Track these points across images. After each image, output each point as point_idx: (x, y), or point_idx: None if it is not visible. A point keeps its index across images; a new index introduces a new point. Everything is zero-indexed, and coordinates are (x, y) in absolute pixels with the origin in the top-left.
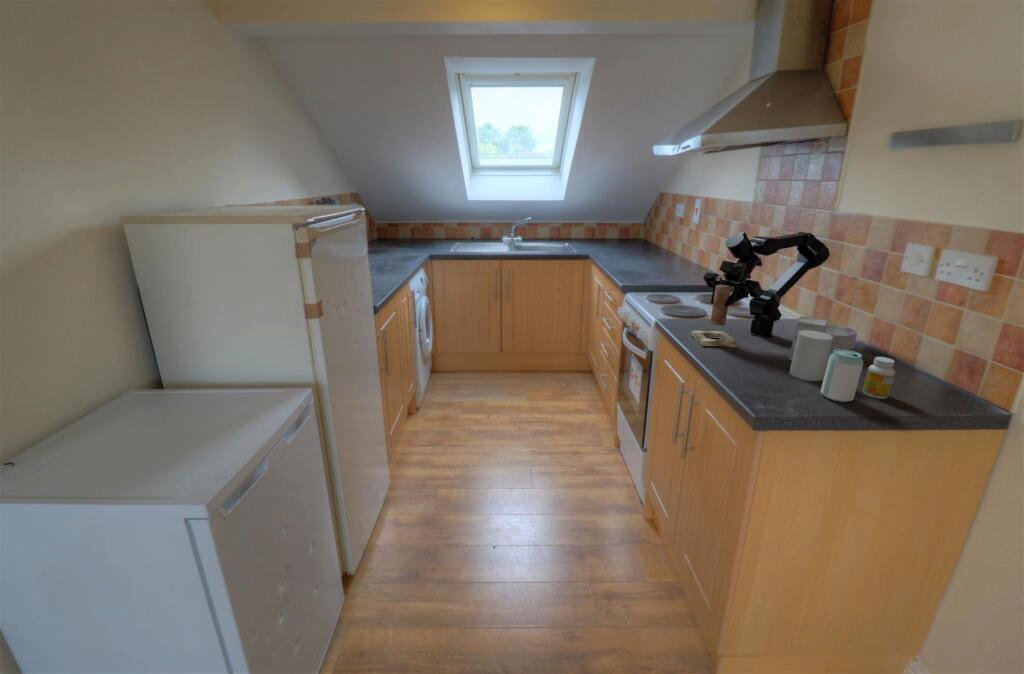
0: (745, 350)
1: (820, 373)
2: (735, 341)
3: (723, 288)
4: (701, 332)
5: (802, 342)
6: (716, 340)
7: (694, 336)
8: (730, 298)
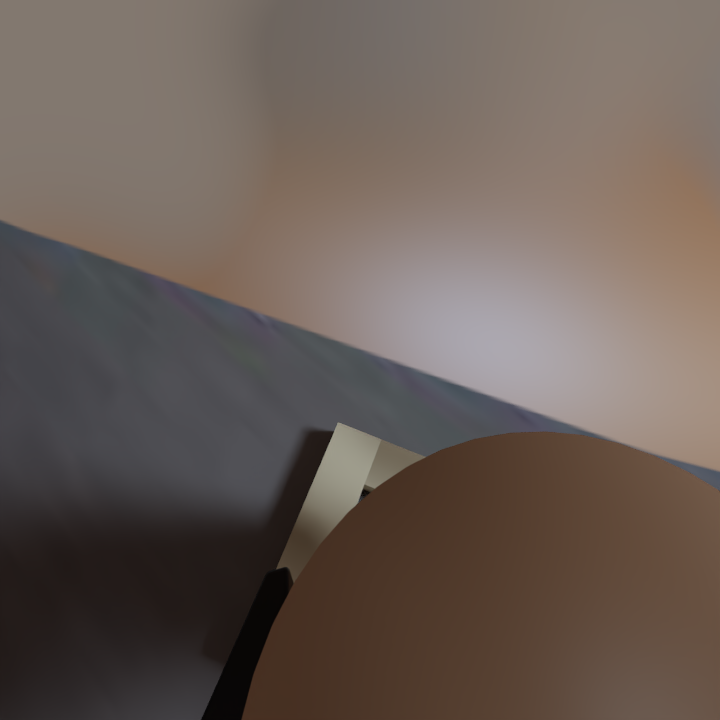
0: (163, 690)
1: None
2: None
3: (334, 529)
4: None
5: None
6: (310, 524)
7: None
8: (219, 717)
